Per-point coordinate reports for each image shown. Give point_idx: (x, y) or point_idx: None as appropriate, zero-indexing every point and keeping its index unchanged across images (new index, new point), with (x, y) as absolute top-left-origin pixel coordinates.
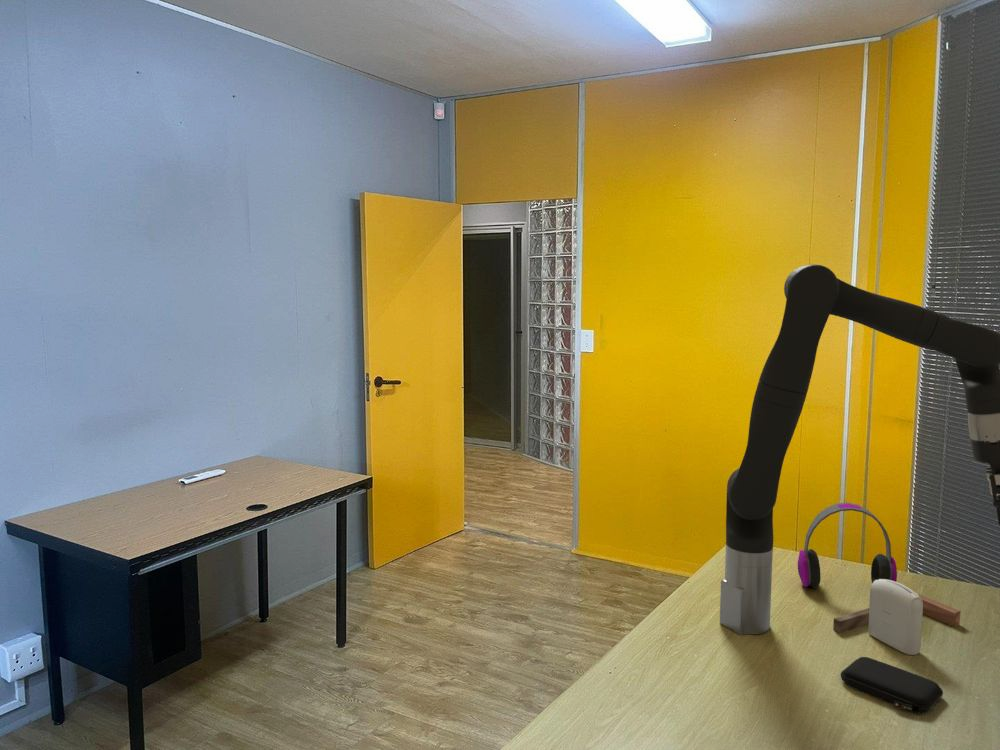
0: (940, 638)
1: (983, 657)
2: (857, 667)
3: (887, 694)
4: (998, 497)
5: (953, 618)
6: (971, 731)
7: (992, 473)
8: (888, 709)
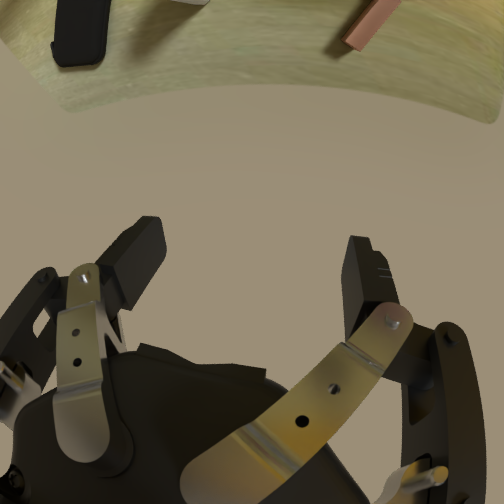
0: (280, 21)
1: (247, 75)
2: None
3: (54, 34)
4: (359, 279)
5: (343, 39)
6: (70, 99)
7: (14, 424)
8: None
